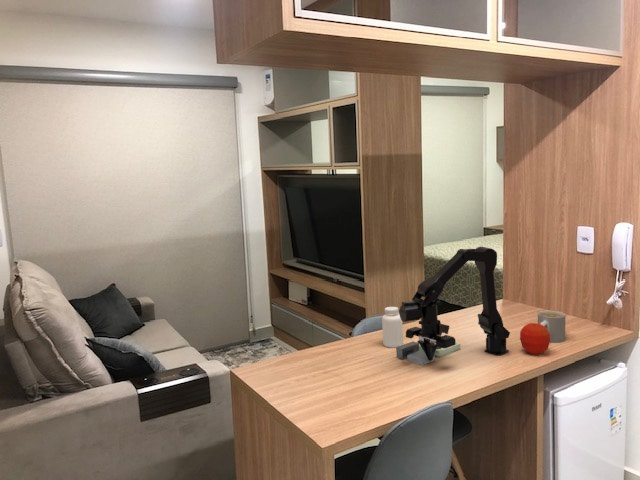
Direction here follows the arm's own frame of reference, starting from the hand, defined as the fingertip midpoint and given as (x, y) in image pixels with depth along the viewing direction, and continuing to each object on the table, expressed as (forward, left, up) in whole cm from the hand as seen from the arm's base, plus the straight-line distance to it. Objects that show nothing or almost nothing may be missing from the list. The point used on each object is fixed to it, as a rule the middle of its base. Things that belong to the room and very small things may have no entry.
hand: (430, 360), depth 189 cm
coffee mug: (-15, -51, -1) cm, 53 cm away
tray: (+8, -13, -1) cm, 15 cm away
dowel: (+8, -13, -1) cm, 15 cm away
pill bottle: (+24, -5, -1) cm, 24 cm away
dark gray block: (+11, 0, -1) cm, 11 cm away
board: (+4, 0, -2) cm, 5 cm away
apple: (-19, -35, -1) cm, 40 cm away
